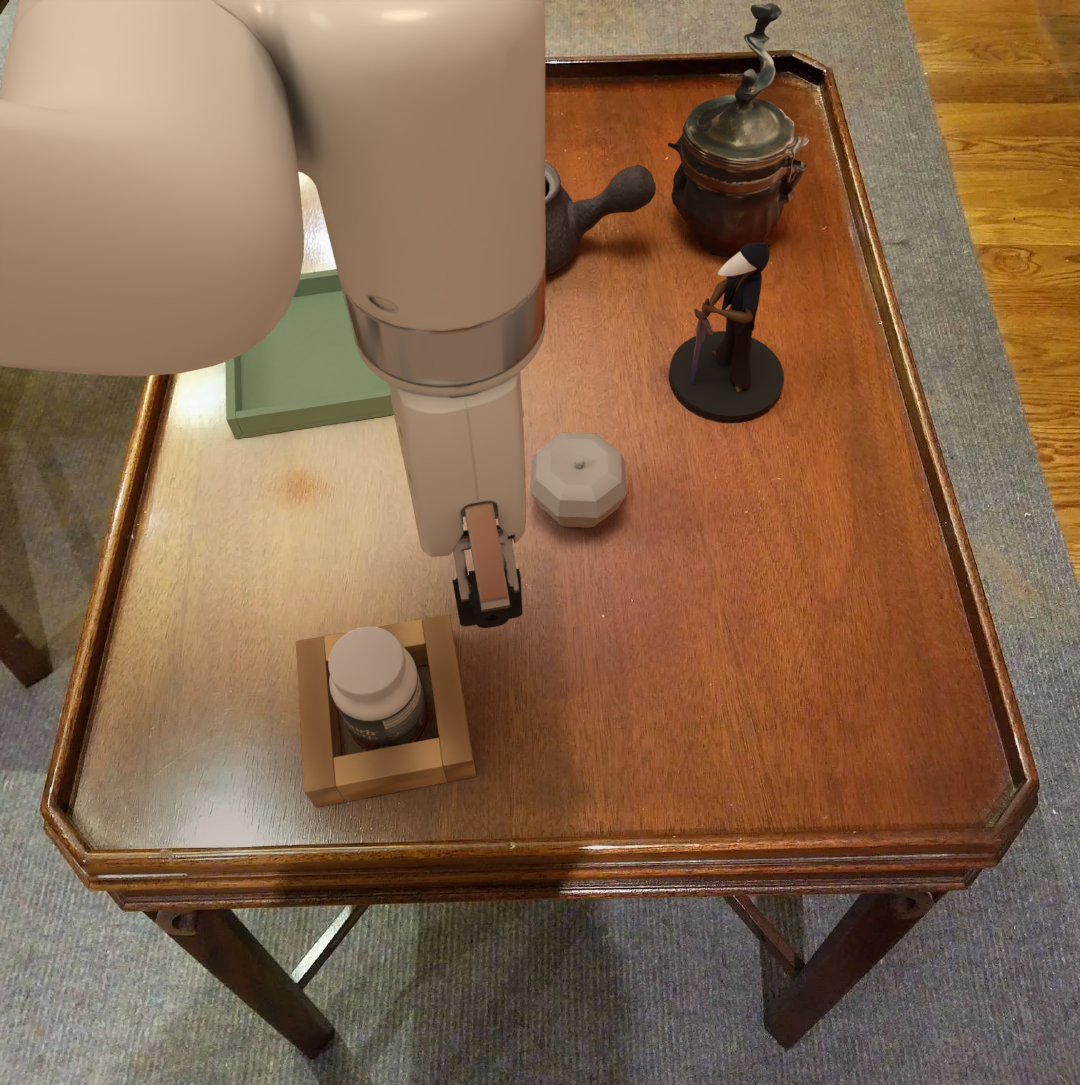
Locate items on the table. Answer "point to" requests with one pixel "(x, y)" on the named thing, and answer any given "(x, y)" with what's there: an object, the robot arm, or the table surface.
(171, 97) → the robot arm
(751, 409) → the figurine
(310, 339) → the tray
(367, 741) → the pill bottle
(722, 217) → the coffee grinder
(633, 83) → the table surface
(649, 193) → the teapot
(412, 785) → the holder
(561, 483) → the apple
